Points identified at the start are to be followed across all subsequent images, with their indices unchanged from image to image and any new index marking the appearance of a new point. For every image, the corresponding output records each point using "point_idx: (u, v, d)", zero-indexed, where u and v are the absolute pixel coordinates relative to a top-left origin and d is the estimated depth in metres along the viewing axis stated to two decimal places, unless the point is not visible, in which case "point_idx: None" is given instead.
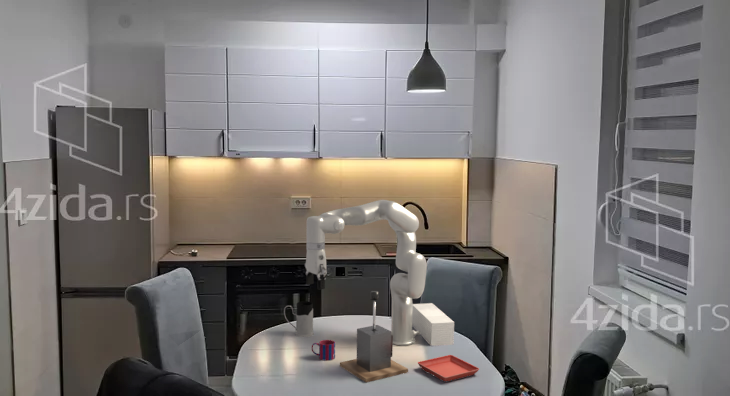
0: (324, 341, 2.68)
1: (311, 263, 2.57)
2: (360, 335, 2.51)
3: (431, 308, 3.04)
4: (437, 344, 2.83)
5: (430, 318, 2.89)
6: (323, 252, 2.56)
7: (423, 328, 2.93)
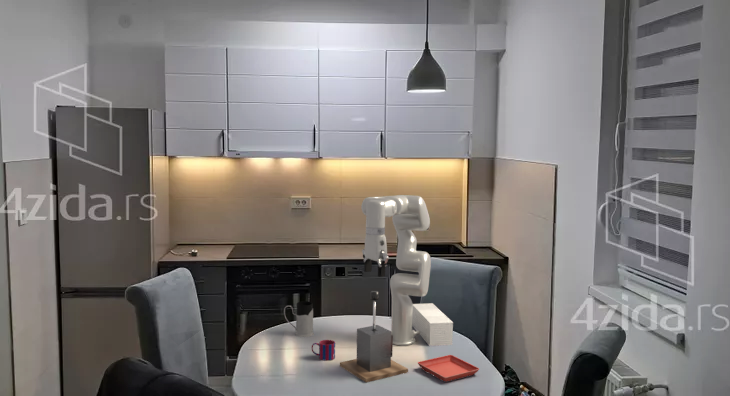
0: (324, 341, 2.68)
1: (371, 249, 2.46)
2: (360, 335, 2.51)
3: (430, 308, 3.04)
4: (436, 344, 2.83)
5: (429, 318, 2.89)
6: (384, 237, 2.44)
7: (422, 328, 2.93)
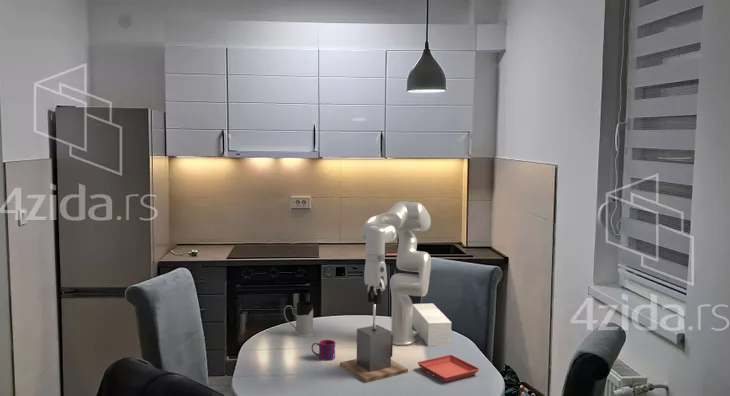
0: (324, 341, 2.68)
1: (371, 275, 2.47)
2: (360, 335, 2.51)
3: (430, 308, 3.04)
4: (434, 344, 2.82)
5: (428, 318, 2.89)
6: (384, 264, 2.46)
7: (421, 328, 2.93)
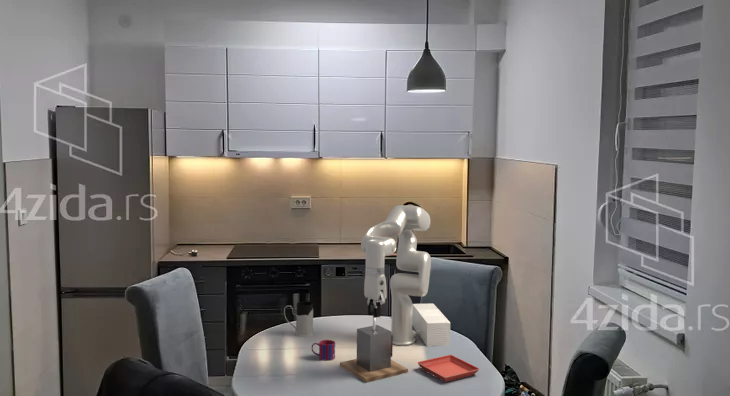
0: (324, 341, 2.68)
1: (371, 289, 2.48)
2: (360, 335, 2.51)
3: (430, 309, 3.04)
4: (433, 344, 2.82)
5: (427, 318, 2.89)
6: (383, 277, 2.46)
7: (421, 328, 2.93)
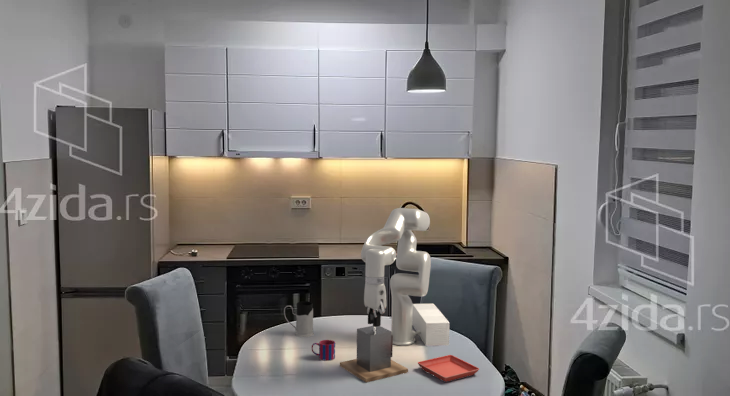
0: (324, 341, 2.68)
1: (370, 298, 2.48)
2: (360, 335, 2.51)
3: (430, 309, 3.04)
4: (432, 344, 2.82)
5: (426, 318, 2.89)
6: (383, 287, 2.47)
7: (420, 328, 2.93)
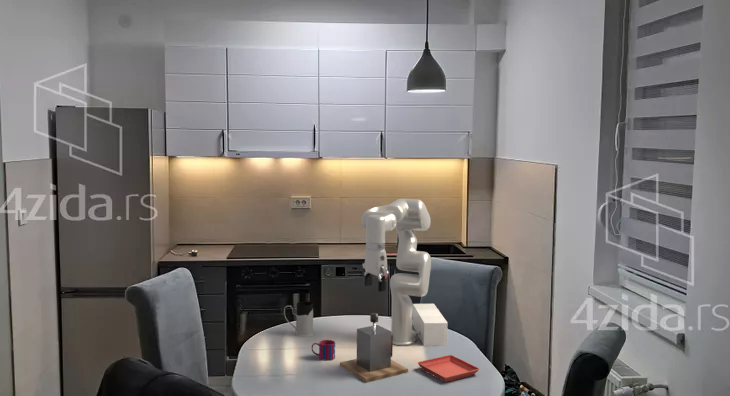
0: (324, 341, 2.68)
1: (371, 264, 2.47)
2: (360, 335, 2.51)
3: (430, 309, 3.04)
4: (430, 344, 2.82)
5: (425, 318, 2.89)
6: (384, 252, 2.45)
7: (419, 328, 2.94)
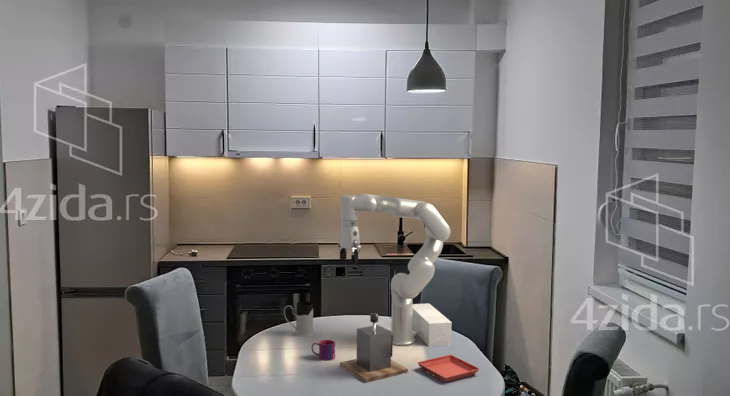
0: (324, 341, 2.68)
1: (345, 239, 2.74)
2: (360, 335, 2.51)
3: (428, 309, 3.04)
4: (435, 344, 2.82)
5: (427, 318, 2.88)
6: (356, 229, 2.73)
7: (420, 328, 2.93)
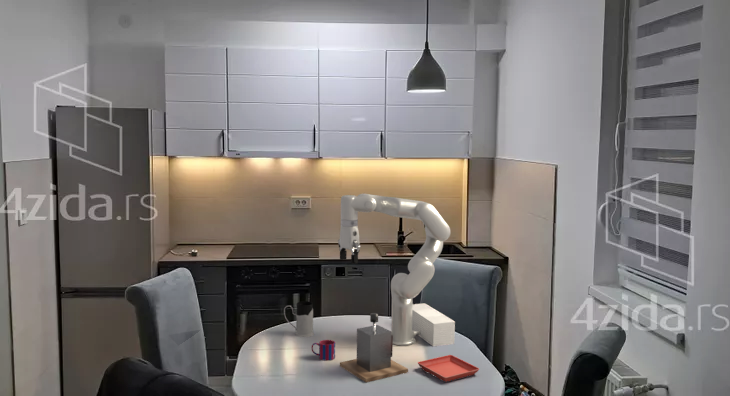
0: (324, 341, 2.68)
1: (345, 239, 2.75)
2: (360, 335, 2.51)
3: (426, 309, 3.04)
4: (439, 344, 2.83)
5: (430, 318, 2.88)
6: (356, 229, 2.73)
7: (422, 329, 2.92)
